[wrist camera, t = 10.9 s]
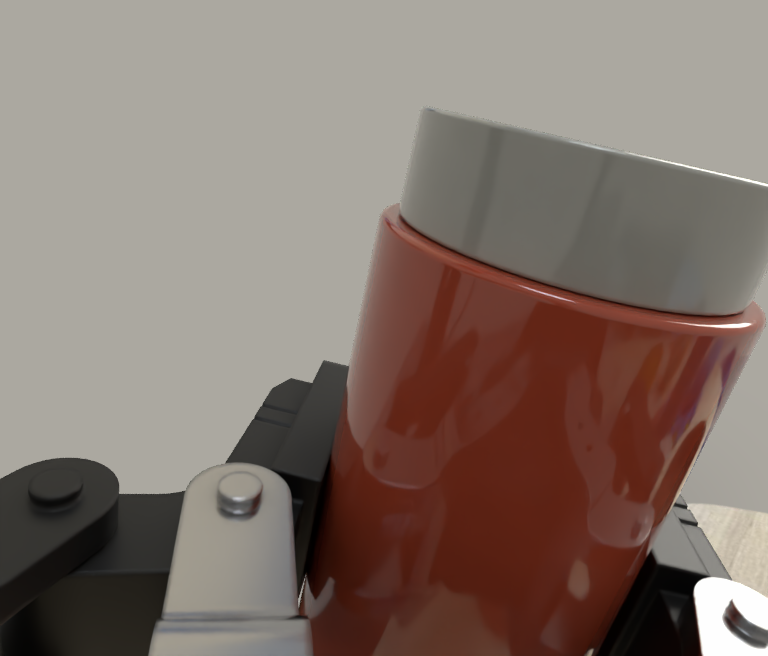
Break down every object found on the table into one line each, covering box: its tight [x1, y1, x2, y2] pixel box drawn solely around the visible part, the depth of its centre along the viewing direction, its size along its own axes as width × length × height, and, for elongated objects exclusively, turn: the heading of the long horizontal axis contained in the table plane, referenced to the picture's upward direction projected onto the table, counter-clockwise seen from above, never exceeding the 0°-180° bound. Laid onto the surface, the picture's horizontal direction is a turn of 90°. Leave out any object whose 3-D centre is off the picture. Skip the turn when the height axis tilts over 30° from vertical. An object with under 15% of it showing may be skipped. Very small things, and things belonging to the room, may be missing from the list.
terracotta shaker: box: [299, 106, 768, 656], centre depth 8 cm, size 4×4×12 cm
